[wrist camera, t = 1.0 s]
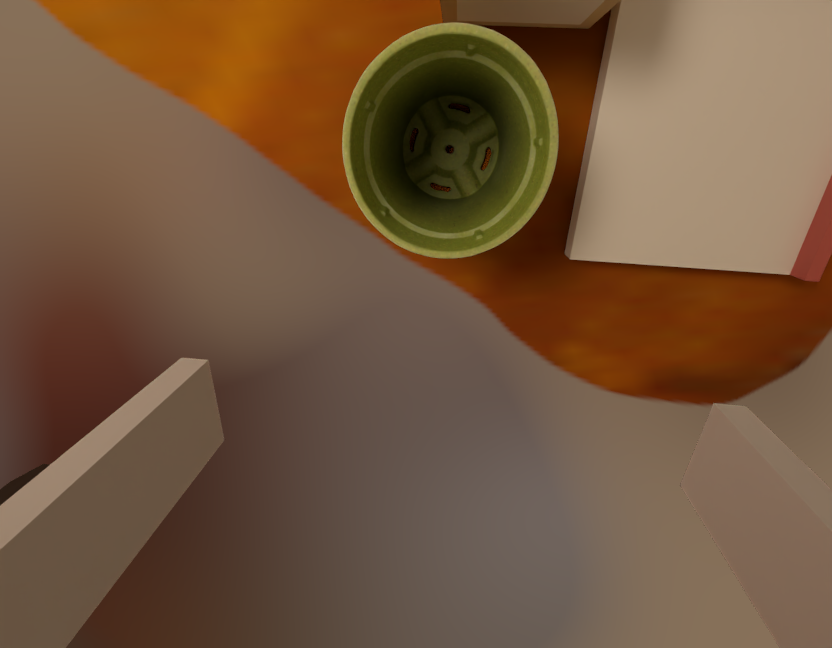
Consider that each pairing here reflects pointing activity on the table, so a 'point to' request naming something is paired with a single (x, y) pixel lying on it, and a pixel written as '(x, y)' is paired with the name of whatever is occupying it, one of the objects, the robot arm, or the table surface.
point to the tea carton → (526, 12)
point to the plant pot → (450, 140)
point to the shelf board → (710, 138)
